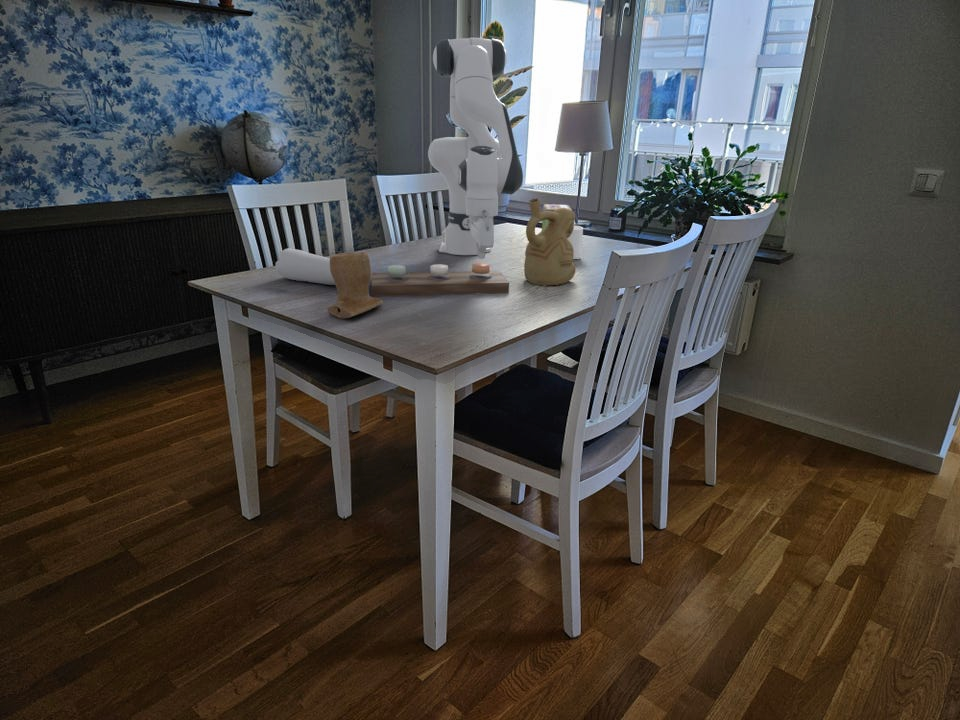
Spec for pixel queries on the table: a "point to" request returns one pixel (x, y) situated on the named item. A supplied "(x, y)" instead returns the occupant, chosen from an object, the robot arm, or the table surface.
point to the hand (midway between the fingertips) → (481, 257)
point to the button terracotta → (480, 268)
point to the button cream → (439, 269)
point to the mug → (576, 241)
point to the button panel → (438, 283)
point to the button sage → (396, 270)
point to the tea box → (552, 208)
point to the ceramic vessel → (549, 246)
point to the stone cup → (351, 284)
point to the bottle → (305, 267)
